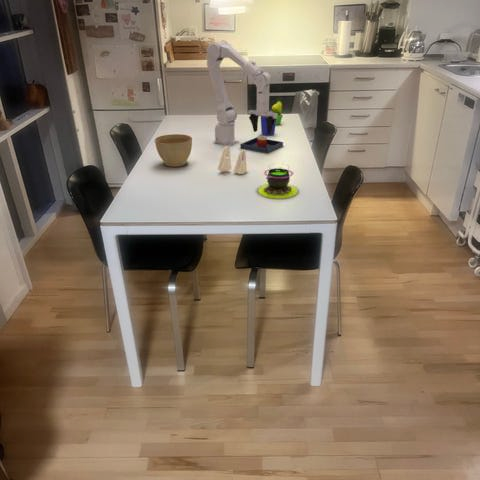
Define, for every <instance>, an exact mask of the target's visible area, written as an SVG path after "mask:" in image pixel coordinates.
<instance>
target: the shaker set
mask: <svg viewBox="0 0 480 480" xmlns="http://www.w3.org/2000/svg"><path fill="white" fill-rule="evenodd" d="M217 170H218V171H220V172H223V173H228V172H229V171H231V170H232V157H231V147H230V145H225V146H224V147H223V149H222V153H221V156H220V159H219V163H218V166H217ZM247 170H248V168H247V153H246V149H240V151H239V153H238V156H237V158H236V162H235V166H234V168H233V171H232V173H234V174H238V175H244V174H246V173H247V172H248V171H247Z"/></svg>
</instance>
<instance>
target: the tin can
mask: <svg viewBox="0 0 480 480" xmlns="http://www.w3.org/2000/svg"><path fill="white" fill-rule="evenodd" d="M256 137H257V147H261V148H266V147H267V139H268V136H266V135H263V134H261V135H257V136H256Z"/></svg>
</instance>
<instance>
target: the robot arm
mask: <svg viewBox="0 0 480 480" xmlns="http://www.w3.org/2000/svg"><path fill="white" fill-rule="evenodd" d="M206 54H207V56H206V57H207V58H206V66H207V70H208V73H209V77H210V81H211V84H212V87H213V93H214V94H215V95H214V96H215V99H216V102H217V107H216V110H215V111H216V114H217V115H216V120H217V122H218V123H216V124H215V127H214V144H219V145H225V146H231V145H234V144H237V143H238V142H239V140H236V139H235V138H236V136H235V132H236V131H235V130H236V129H235V125H236V124H235V121H236V120H237V118H238V113H237V110H236V109H235V108H234V104H232V103H231V101H230V99H229V96H228V92H227V89H226V85H225V82H224V77H223V74H222V70H221V67H220V66H221V64H222V62H223V60H224V59H230V60H231V61H233V62H234V63H235V64H237V65H238V66H239V67H241V68H242V71H243V73H244V74H245V75H246V76H247V77H248V78H250V79H251V80H252V81H253V82H254V85H255V86H256V109H249V110H248V119H249V121H250V123H251V126H252V129H253V133H256V132H258V123H259V117H261V116H263V117H269V118H267V119H266V121H267V134H270V133H271V130H272V127H273V124H274V122H275V120H276V118H277V113H273V112H270V84H271V83H272V81H273V79H272V75H271V73H270V72H269V71H266V70H265V71H264V69H263V68H260V67H259V65H257V64H256V61H253V60H247V59H245V57H244V56H243V55H241V54H240V53H239V52H238V51H237V50H236V49H235V48H234V47H233V46H232V44H230V43H228V41H226V40H220V41H213V42H211V43H209V45H208V46H207V48H206Z"/></svg>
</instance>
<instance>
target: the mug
mask: <svg viewBox="0 0 480 480" xmlns="http://www.w3.org/2000/svg"><path fill="white" fill-rule="evenodd" d="M267 118H269V117H263V116H260V132H261V135H264V136H267V137H268V136H274V135H275V132H276V126H277V125H276V120H275V122H274V124H273V127H272V130H271V133H270V134H267V121H266V119H267Z"/></svg>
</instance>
